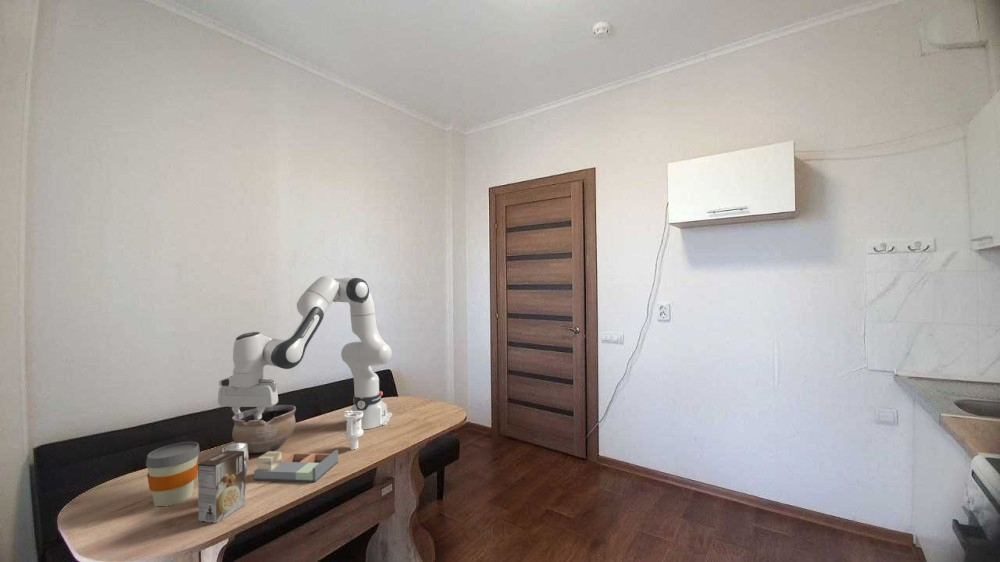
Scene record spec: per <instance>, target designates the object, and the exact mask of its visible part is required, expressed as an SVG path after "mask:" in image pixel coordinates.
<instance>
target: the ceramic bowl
mask: <svg viewBox="0 0 1000 562" xmlns="http://www.w3.org/2000/svg"><path fill="white" fill-rule="evenodd" d="M296 410H297V408H296V406H295V405H292V404H278V405H277V404H276V405H274V406H272V407H265V409H264V411H263V413H262V418H261V419H259V420H255V419H254V418H255V417H254V415H255V414H257V412H258V410H257V407H254V408H252V409H247V410H244V411H240V412H241V413H243V418H242V419H235V415H233V416H232V417H231V419H232V420H233V423H234V425H233V427H232V433H231V434H232V435H231V436H232V440H233V441H234V444H235V443H247V444H248V454H265V453H267V452H268V451H271V452H273V451H275V450H277V449H278V448H280V447H281V446H282V445H284V444H285V443H286V441H288V440H289V438H290V437H291V436H292V433H294V430H295V428H296V425H297V424H296V417H295V413H296Z"/></svg>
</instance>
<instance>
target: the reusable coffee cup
mask: <svg viewBox="0 0 1000 562" xmlns="http://www.w3.org/2000/svg"><path fill="white" fill-rule="evenodd" d="M200 449H201V448H200V444H199V443H198V442H196V441H184V442H183V441H182V442H176V443H171V444H169V445H165V446H162V447H158V448H156V449H154V450H152V451H150V452H148V454H147V456H146V461H145V462H146V463H145V467H146V468H147V471H148V472H147V474H146V476H147V477H146V478H147V482H148V488H149V491H151V494H152V500H153V505H154V506H155V505H156V506H155V507H157V506H165V507H168V506H167V505H170V506H172V505H171V504H174V505H176V504H175V503H177V504H179V503H182V502H184V501H186V500H188V499H189V498H191V496H192V495H193V492H194V486H195V479H196V478H198V464H199V463H200V461H199V460H198V459H199V455H200V453H201V452H200ZM187 498H188V499H187ZM185 499H186V500H185ZM183 500H184V501H183ZM181 501H182V502H181ZM178 502H179V503H178Z"/></svg>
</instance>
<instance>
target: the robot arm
mask: <svg viewBox="0 0 1000 562" xmlns="http://www.w3.org/2000/svg"><path fill="white" fill-rule="evenodd" d="M333 302H334V303H336V302H337V303H348V304H349V307H350V308H349V311H350V313H349V315H350V322H351V323H350V324H351V331H352V333H353V334H354V335H355V336H357V337H358V339H359V340H360V341H353V342H348V343H346V344H344V346H343V347H342V349H341V353H340V356H341V360H342V361H343V362H344V363H345V364H346V365H347V366H348V368H349V370H350V372H351V375H352V379H353V385H354V387H353V388H354V390H353V391H354V395H353V398H352V399H353V401H352V402H353V405H352V406H351V408H350V409H351V410H350V411H362V412H363V417H361V429H363V430H371V429H375V428H378V427H383V426H387V425H388V423H389V421H390V420H391V418H390V417H392V416H393V413H392V412H390V411H388V405H387V404H386V402H384V400H382V396H383V391H381V390H380V378H379V376H378V374H377V373H376V372H374V370H373V368H372V367H380V366H385V365H387V364H388V363H389V362H390V361H391V359H392V356H393V350H392V348H391V346H390V345H389V344H387V343H386V342H385V340H383V338H382V337H381V334H380V331H379V330H378V325H377V316H376V307H375V303H374V299H373V295H372V293H371V292H370V288H369V285H368V282H367V281H366V280H364V279H362V278H360V277H341V278H333V277H332V276H329V275H323V276H320V277H319V278H318V279H316V280H315V281H314V282H313V283H312V284H311V285H309V286H308V288H306V290H305V291H304V292H303V293H302V294H301V296H300V297H299V299H297V303H296V309H297V312H298V313H299V314H300V316H302V319H301V322H300V323H299V325H298V326H297V327H296V329H295V331H294V332H293V334H292V335H291V336H290V337H288V338H286V339H277V338H273V337H269V336H266V335H264V334H262V333H261V332H259V331H252V332H247V333H243V334H240V335H238V336H237V337H236V338H235V340H234V343H233V351H232V361H233V364H234V365H233V366H234V367H233V371H232V375H230V376H229V377H228V376H227V377H226V378H221V379H220V380H219V381H218V385H219V387H220V388H219V389H218V393H217V403H218V405H219V407H221V408H222V407H223V408H224V407H226V408H228V407H229V408H231V411H232V412H233V414H234V416H235V419H242V418H243V413H241V412H242V411H241V410H240V409H241V408H251V407H252V408H257V410H258V412H257V414H255V415H254V417H255V418H254V419H255V420H259V419H261V418H262V413H263V411H264V409H265V407H272V406H276V405H277V404H278V403H279V396H278V395H279V394H278V393H279V392H278V389H277V383H276V381H274V380H273V379H271V378H270V379H264V367H265V366H273V367H277V368H280V369H283V370H290V369H294V368H295V367H297V366H298V365H299V364H300V363H301V362H302V360H303V358H304V357H305V352H306V349H307V347H308V345H309V343H311V340H312V338H313V337H314V335H316V334H315V333H316V332H317V330H318V329H319V327H320V326H321V323H322V321H323V319H324V317H325V316H324V315H325V313H326V311H327V310H328V308H329V307H330V306H331V305H332V303H333ZM359 415H360V414H359ZM350 416H356V414H353V415H350ZM353 420H354V419H353ZM387 422H388V423H387ZM382 425H383V426H382Z"/></svg>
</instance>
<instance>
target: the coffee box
mask: <svg viewBox="0 0 1000 562" xmlns="http://www.w3.org/2000/svg"><path fill="white" fill-rule="evenodd" d="M197 484H198V485H197V486H198V487H197V488H198V489H197V490H198V493H197V494H198V521H199V522H202V521H205V522H204V523H211V522H213V523H212V524H217V522H218V523H219V522H222V520H224V519H225V518H227V517H228V516H230V515H231V514H233V513H235V512H236V511H237V510H239V509H240V508H242V507H244V506H245V505H246V494H245V484H246V478H245V473H244V451H230V450H227V451H224V452H222V451H221V452H220V453H218V454H216V455H213V456H211V457H210V458H207V459H205V460H204V461H201V462H199V464H198V471H197Z"/></svg>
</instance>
